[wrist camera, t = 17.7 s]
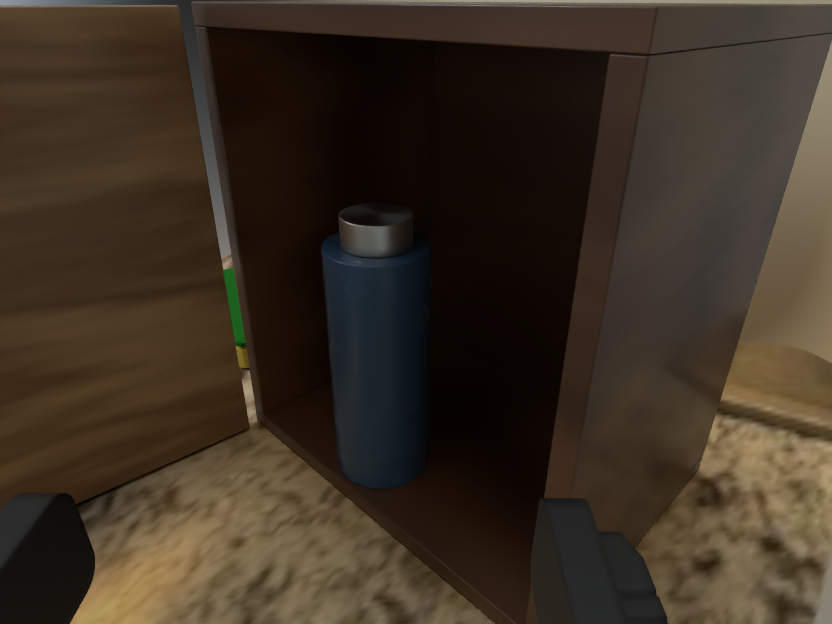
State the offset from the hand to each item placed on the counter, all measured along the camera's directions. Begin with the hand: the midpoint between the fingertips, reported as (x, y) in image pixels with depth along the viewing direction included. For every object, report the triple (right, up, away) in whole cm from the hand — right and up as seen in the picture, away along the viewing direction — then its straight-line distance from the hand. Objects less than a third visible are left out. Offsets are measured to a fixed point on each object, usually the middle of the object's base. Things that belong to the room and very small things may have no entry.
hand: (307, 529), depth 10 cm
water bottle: (0, -4, +23) cm, 24 cm away
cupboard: (+5, -4, +26) cm, 27 cm away
